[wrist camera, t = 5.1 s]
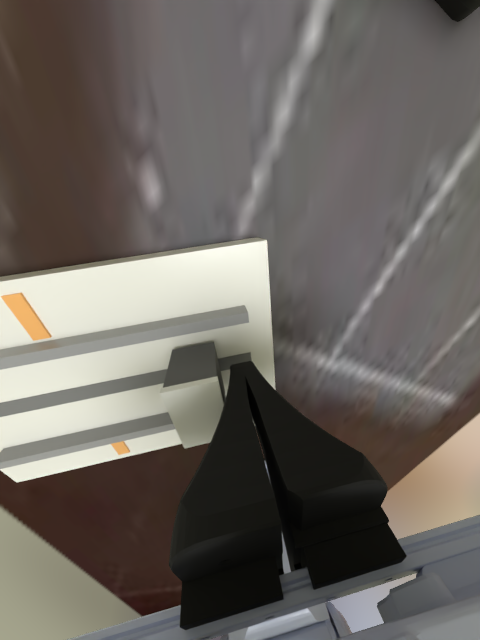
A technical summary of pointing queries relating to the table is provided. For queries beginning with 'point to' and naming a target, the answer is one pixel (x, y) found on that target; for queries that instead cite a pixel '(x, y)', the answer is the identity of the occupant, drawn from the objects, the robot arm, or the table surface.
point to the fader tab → (194, 393)
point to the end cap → (458, 7)
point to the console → (119, 349)
